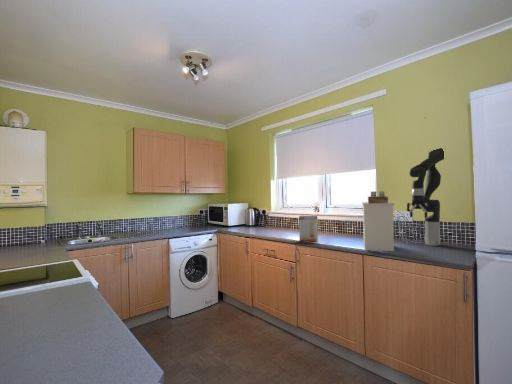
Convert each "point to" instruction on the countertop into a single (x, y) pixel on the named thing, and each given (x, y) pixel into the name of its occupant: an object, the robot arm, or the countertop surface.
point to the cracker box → (308, 228)
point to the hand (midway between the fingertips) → (418, 217)
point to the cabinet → (378, 226)
